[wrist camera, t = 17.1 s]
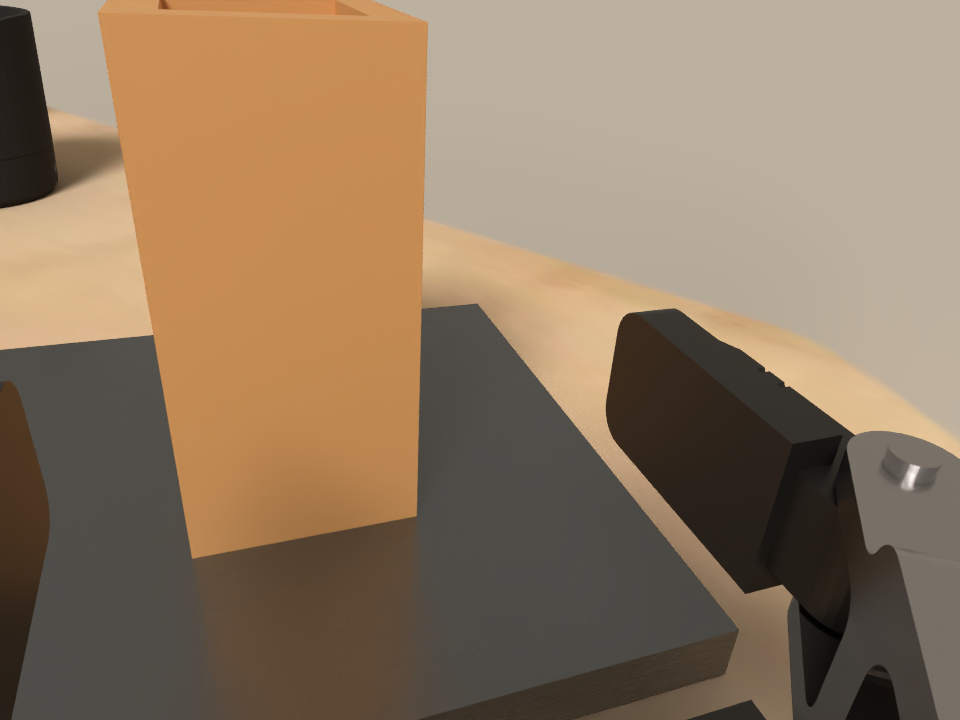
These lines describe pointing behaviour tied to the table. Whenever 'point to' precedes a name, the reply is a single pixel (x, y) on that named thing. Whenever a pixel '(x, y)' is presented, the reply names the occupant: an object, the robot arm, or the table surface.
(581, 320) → the table surface
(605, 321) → the table surface
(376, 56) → the tan rectangular holder
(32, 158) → the pen holder
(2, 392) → the robot arm
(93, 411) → the shaft stand
